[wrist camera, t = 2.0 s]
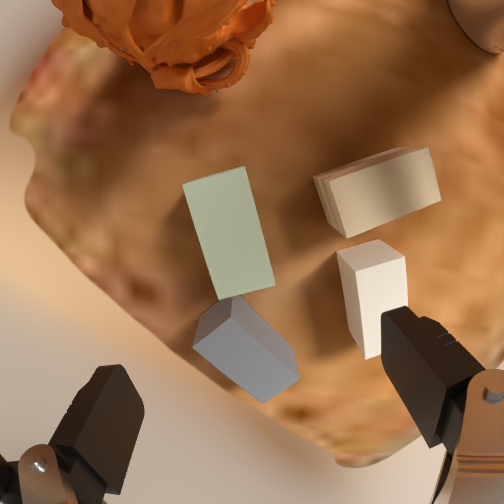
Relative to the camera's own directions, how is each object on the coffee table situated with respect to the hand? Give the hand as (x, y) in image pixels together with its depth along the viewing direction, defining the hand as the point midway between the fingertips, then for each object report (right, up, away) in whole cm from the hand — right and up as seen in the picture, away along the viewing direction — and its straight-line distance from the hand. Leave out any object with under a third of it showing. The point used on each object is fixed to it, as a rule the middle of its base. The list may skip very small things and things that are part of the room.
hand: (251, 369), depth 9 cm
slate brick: (0, -4, +19) cm, 19 cm away
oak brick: (+9, +9, +15) cm, 20 cm away
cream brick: (+10, 0, +18) cm, 20 cm away
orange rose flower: (-4, +20, +11) cm, 23 cm away
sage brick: (-1, +6, +16) cm, 17 cm away
